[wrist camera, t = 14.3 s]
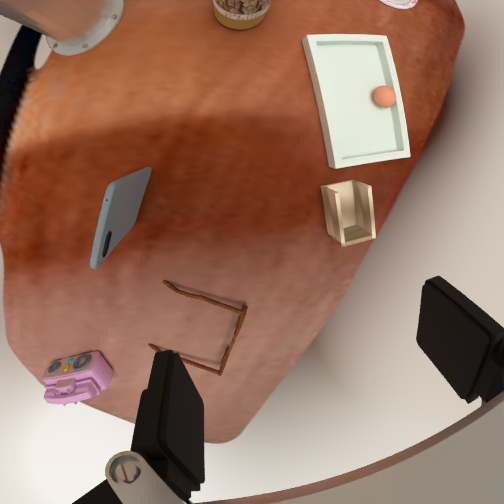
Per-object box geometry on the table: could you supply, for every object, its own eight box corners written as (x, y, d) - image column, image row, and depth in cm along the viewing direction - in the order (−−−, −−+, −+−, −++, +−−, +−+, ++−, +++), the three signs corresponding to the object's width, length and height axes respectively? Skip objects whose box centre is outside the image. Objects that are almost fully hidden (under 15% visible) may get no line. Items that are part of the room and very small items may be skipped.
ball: (389, 113, 32) (373, 109, 35) (403, 103, 32) (387, 100, 35) (381, 92, 30) (365, 89, 33) (396, 83, 30) (380, 80, 33)
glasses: (223, 361, 49) (224, 382, 44) (148, 343, 46) (143, 363, 41) (248, 299, 44) (251, 318, 40) (163, 276, 42) (157, 293, 37)
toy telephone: (99, 345, 45) (82, 385, 35) (118, 371, 47) (105, 411, 38) (38, 361, 45) (19, 393, 36) (56, 383, 48) (41, 416, 38)
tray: (301, 40, 31) (306, 35, 29) (378, 40, 31) (386, 35, 29) (328, 166, 38) (335, 168, 36) (401, 155, 38) (410, 156, 36)
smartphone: (148, 165, 35) (107, 182, 21) (155, 167, 35) (117, 186, 22) (130, 223, 38) (87, 270, 24) (136, 226, 38) (96, 274, 24)
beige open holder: (320, 186, 39) (334, 193, 34) (353, 179, 39) (371, 186, 34) (327, 233, 42) (341, 247, 37) (358, 225, 42) (375, 237, 37)
